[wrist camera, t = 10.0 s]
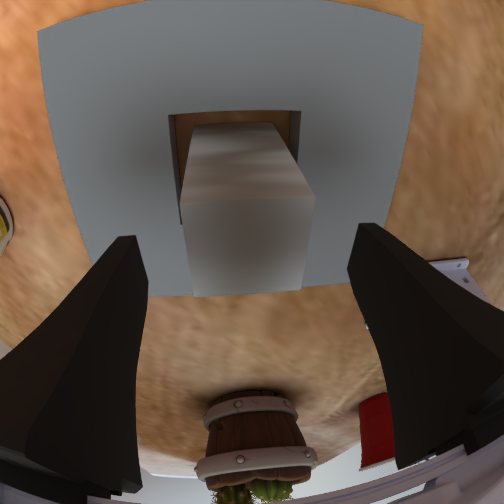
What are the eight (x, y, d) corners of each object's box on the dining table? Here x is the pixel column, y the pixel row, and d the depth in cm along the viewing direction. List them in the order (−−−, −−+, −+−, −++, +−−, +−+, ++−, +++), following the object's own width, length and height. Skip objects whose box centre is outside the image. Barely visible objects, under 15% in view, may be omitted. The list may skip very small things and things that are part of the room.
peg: (271, 122, 15) (315, 197, 9) (268, 187, 18) (300, 289, 12) (194, 125, 15) (179, 203, 9) (199, 191, 17) (194, 297, 11)
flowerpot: (304, 369, 32) (340, 539, 17) (302, 412, 42) (326, 530, 27) (177, 387, 32) (184, 554, 17) (209, 425, 42) (219, 543, 27)
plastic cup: (335, 418, 47) (350, 478, 38) (355, 393, 40) (376, 466, 31) (388, 406, 49) (405, 461, 40) (414, 379, 42) (437, 443, 33)
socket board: (402, 22, 12) (423, 24, 10) (356, 262, 22) (366, 280, 21) (55, 29, 10) (37, 31, 8) (112, 277, 21) (106, 298, 19)
